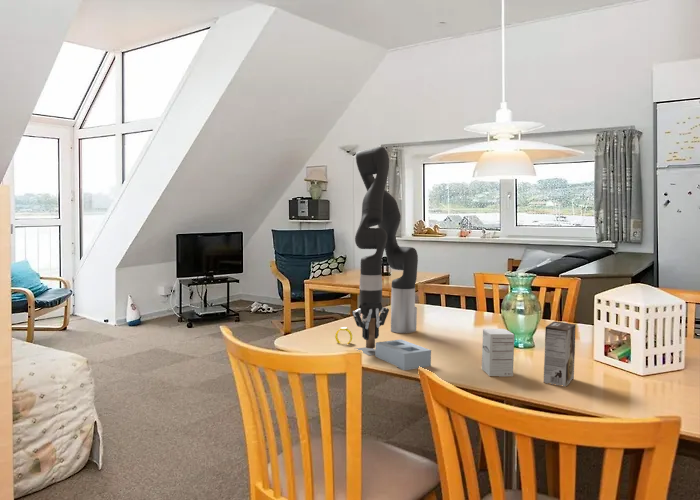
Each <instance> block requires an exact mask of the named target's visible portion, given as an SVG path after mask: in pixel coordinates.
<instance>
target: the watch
mask: <svg viewBox="0 0 700 500" xmlns="http://www.w3.org/2000/svg"><path fill="white" fill-rule="evenodd" d="M340 331H345V332H347V333H348V335H349V341H348V342H347V343H346V344H347V345H349V344H350V343H352V342H353V341H352V340H353V334H352V332H351V330H350V329H348V327H347V326H341V327H339V329H338V330H337V331H336V333H335V335H334V339H335V342H336V343H338V344H341V341H340V340H339V338H338V335H339V332H340Z"/></svg>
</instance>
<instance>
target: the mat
mask: <svg viewBox="0 0 700 500" xmlns="http://www.w3.org/2000/svg"><path fill="white" fill-rule="evenodd" d="M355 349H358V350H362V351H363V353H362V354H365V355H367V356H368V357H369V356H375V351H376V348H366V346H365V347H364V346H363V347H359V348H355ZM358 350H357V351H358Z"/></svg>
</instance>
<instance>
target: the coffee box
mask: <svg viewBox="0 0 700 500" xmlns="http://www.w3.org/2000/svg"><path fill="white" fill-rule="evenodd" d="M576 325H577V324H575V323H568V322H563V321H553V322H551V323H550V324H548V325H546V326H545V331H544V333H545V334H544V335H545V336H544V338H545V339H544V360H543V362H544V365H543V383H544V382H545V383H544V384H548V383H551V384H550V385H553V384H556V385H555V386H558V385H563V386H562V387H564V386H566V387H567V386H568V385H570V383H571V382H572V381H573V380H574V378H575V357H576V356H575V355H576V354H575V352H576ZM572 379H573V380H572ZM571 380H572V381H571ZM570 381H571V382H570Z"/></svg>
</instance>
